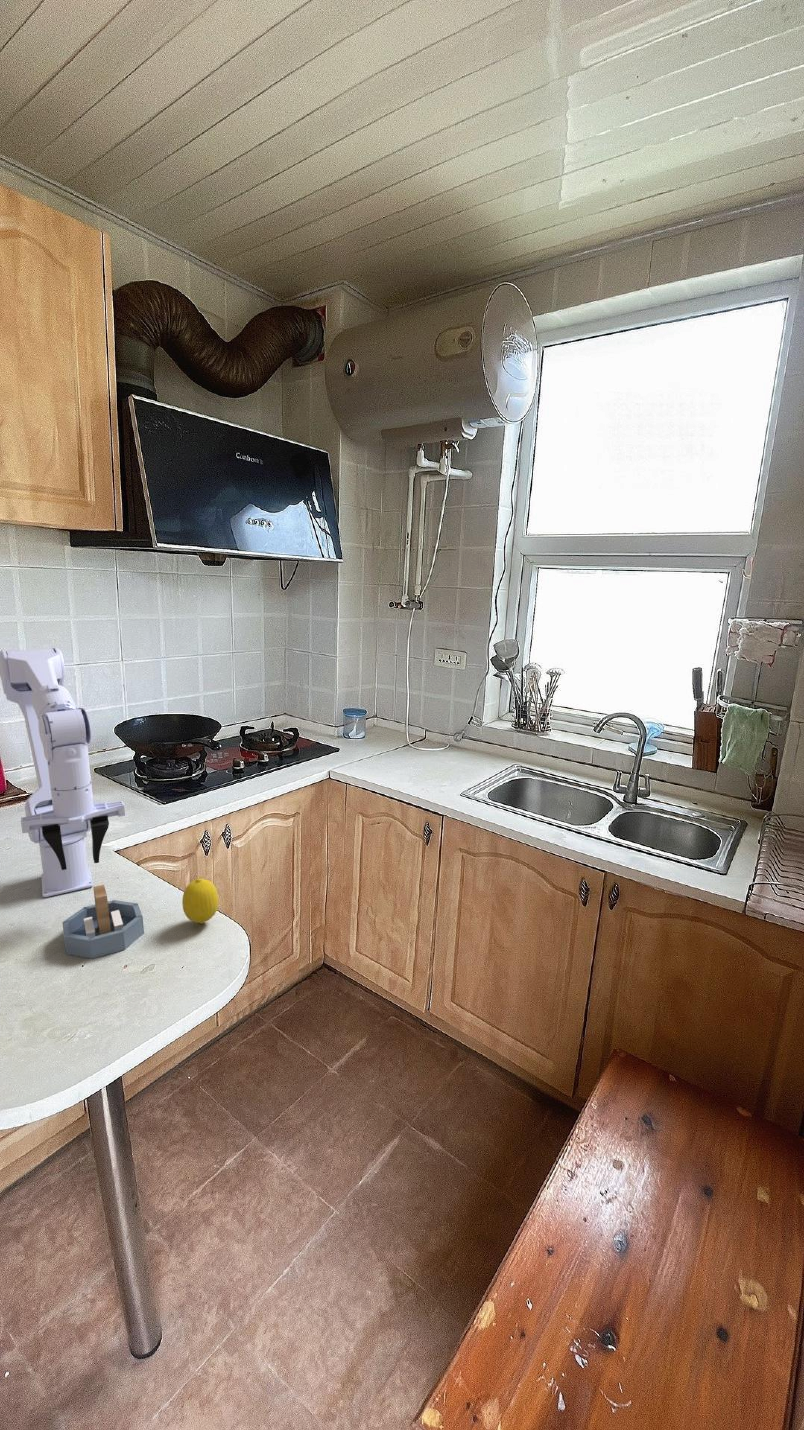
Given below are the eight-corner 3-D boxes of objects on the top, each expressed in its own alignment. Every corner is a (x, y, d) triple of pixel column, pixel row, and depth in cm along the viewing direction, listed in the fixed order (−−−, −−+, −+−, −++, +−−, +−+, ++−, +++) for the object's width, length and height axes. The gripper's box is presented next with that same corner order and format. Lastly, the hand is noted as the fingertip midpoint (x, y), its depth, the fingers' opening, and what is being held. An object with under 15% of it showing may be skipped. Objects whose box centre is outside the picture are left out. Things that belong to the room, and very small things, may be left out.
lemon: (223, 914, 101) (220, 870, 100) (214, 932, 96) (211, 886, 94) (190, 914, 101) (186, 870, 99) (179, 933, 96) (175, 887, 94)
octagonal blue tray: (63, 929, 96) (61, 912, 96) (136, 910, 102) (135, 894, 101) (67, 965, 87) (65, 947, 87) (147, 943, 93) (146, 925, 92)
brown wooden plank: (97, 927, 96) (93, 886, 94) (108, 924, 96) (103, 884, 95) (100, 939, 92) (96, 898, 91) (111, 936, 93) (106, 895, 92)
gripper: (16, 800, 88) (28, 885, 91) (124, 784, 96) (131, 863, 99) (17, 786, 94) (28, 866, 97) (118, 772, 102) (125, 847, 105)
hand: (80, 864), depth 98 cm, fingers open, 4 cm apart
